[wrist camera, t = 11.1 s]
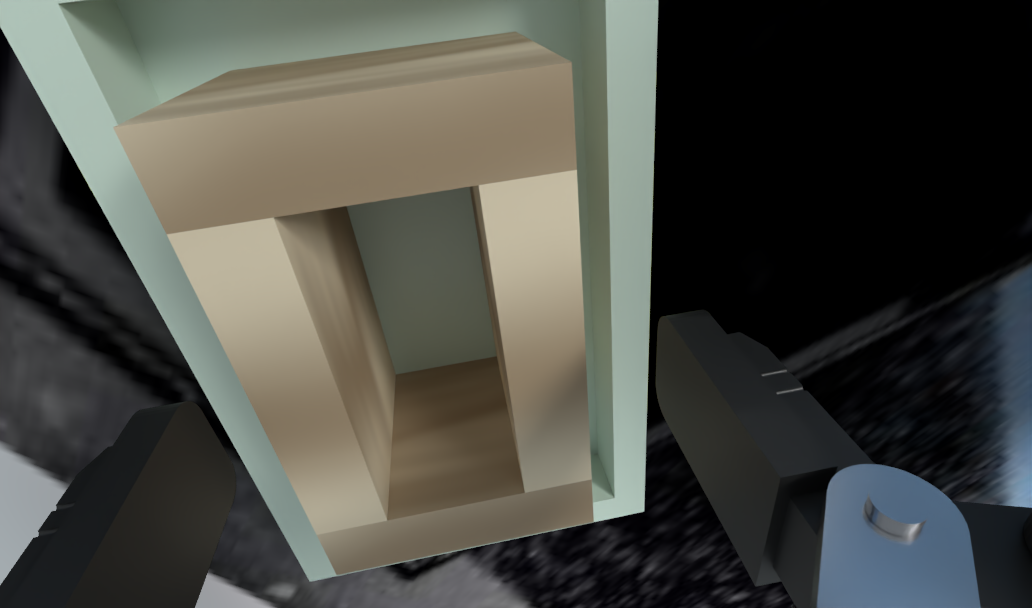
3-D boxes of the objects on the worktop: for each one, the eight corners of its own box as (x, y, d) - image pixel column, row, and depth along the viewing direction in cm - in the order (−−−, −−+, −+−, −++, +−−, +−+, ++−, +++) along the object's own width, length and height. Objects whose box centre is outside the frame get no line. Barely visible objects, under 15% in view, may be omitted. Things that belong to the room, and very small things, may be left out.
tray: (615, -124, 11) (662, -148, 9) (620, 454, 20) (644, 511, 18) (48, -56, 10) (-51, -65, 8) (321, 514, 19) (309, 581, 17)
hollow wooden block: (230, 70, 11) (112, 127, 7) (515, 31, 11) (571, 61, 7) (374, 465, 17) (359, 621, 13) (554, 430, 18) (596, 571, 14)
